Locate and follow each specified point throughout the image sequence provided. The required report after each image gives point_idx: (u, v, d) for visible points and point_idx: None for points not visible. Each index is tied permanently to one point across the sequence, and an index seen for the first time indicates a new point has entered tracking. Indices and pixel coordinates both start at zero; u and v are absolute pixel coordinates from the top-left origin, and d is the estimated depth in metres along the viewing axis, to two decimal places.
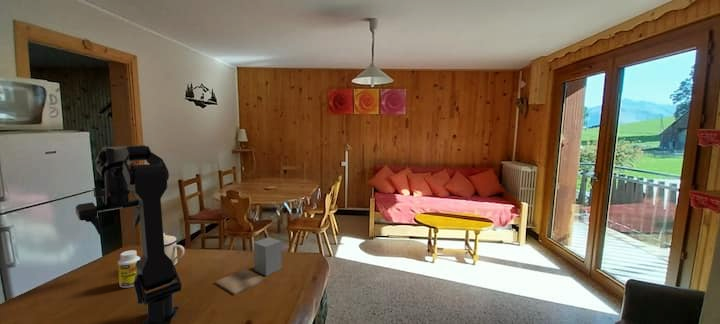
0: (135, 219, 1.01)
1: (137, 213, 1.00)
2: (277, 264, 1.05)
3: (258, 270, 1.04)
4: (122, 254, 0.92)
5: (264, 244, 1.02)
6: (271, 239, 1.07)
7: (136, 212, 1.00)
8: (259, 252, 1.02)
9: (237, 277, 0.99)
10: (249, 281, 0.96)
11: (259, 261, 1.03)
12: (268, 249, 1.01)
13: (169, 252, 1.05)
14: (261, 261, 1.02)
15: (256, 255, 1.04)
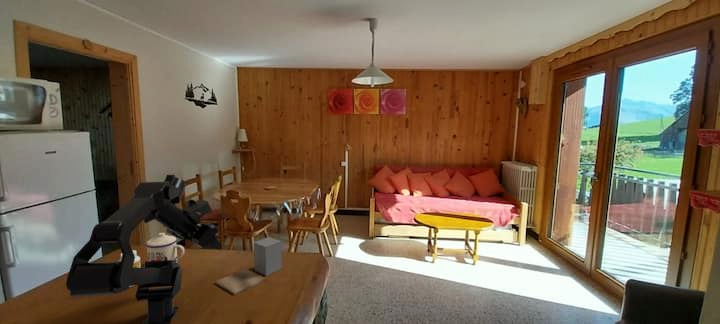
0: None
1: None
2: (277, 264, 1.05)
3: (258, 270, 1.04)
4: (122, 254, 0.92)
5: (264, 244, 1.02)
6: (271, 239, 1.07)
7: None
8: (259, 252, 1.02)
9: (237, 277, 0.99)
10: (249, 281, 0.96)
11: (259, 261, 1.03)
12: (268, 249, 1.01)
13: (169, 252, 1.05)
14: (261, 261, 1.02)
15: (256, 255, 1.04)
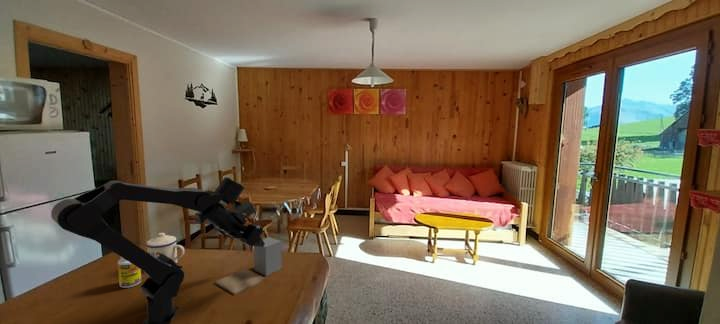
0: None
1: None
2: (277, 264, 1.05)
3: (258, 270, 1.04)
4: None
5: None
6: (271, 239, 1.07)
7: None
8: (259, 252, 1.02)
9: (237, 277, 0.99)
10: (249, 281, 0.96)
11: (259, 261, 1.03)
12: (268, 249, 1.01)
13: (169, 252, 1.05)
14: (261, 261, 1.02)
15: (256, 255, 1.04)
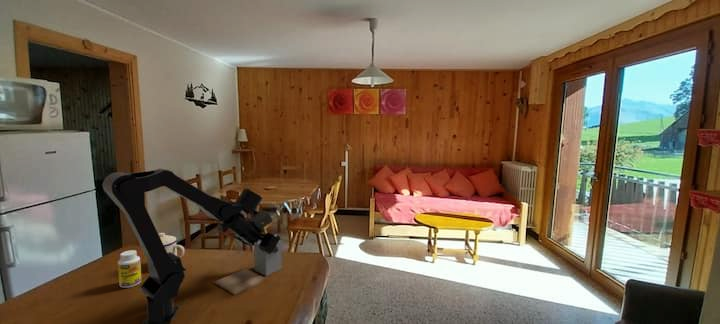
0: None
1: None
2: (277, 264, 1.05)
3: (258, 270, 1.04)
4: (122, 254, 0.92)
5: None
6: None
7: None
8: (259, 252, 1.02)
9: (237, 277, 0.99)
10: (249, 281, 0.96)
11: (259, 261, 1.03)
12: None
13: None
14: (261, 261, 1.02)
15: (256, 255, 1.04)
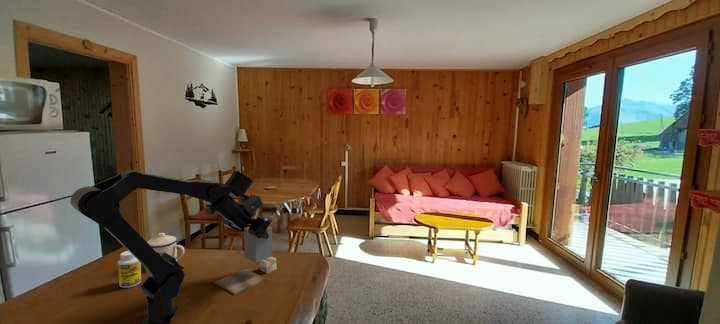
0: None
1: None
2: (268, 251, 1.01)
3: (248, 257, 1.00)
4: (122, 254, 0.92)
5: None
6: None
7: None
8: (249, 238, 0.99)
9: (237, 277, 0.99)
10: (249, 281, 0.96)
11: (249, 247, 0.99)
12: None
13: (169, 252, 1.05)
14: (251, 247, 0.98)
15: (246, 241, 1.00)
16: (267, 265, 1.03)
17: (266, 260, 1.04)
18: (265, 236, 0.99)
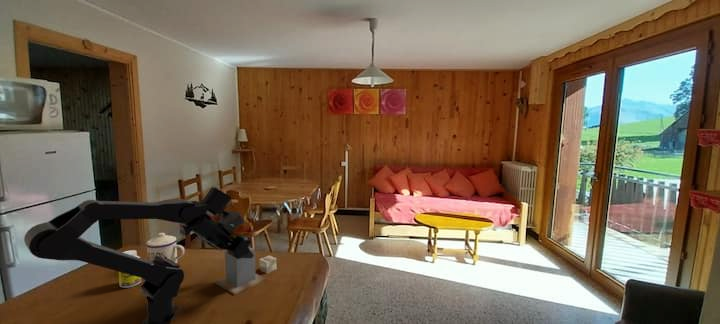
0: None
1: None
2: (250, 274, 0.96)
3: (229, 281, 0.95)
4: None
5: None
6: None
7: None
8: (230, 261, 0.94)
9: None
10: None
11: (230, 271, 0.94)
12: None
13: (169, 252, 1.05)
14: (232, 271, 0.94)
15: (227, 264, 0.95)
16: (267, 265, 1.03)
17: (266, 260, 1.04)
18: (249, 256, 0.93)
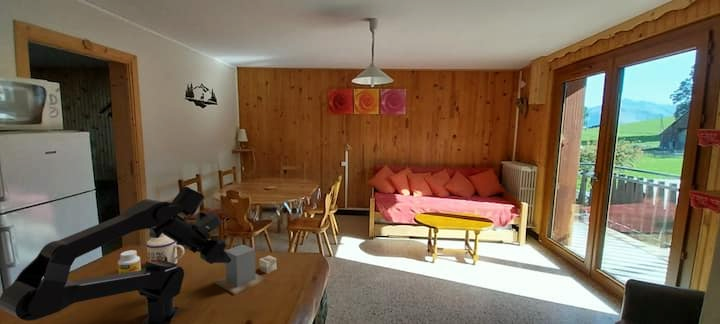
0: None
1: None
2: (250, 274, 0.96)
3: (229, 281, 0.95)
4: (122, 254, 0.92)
5: (235, 252, 0.94)
6: (244, 247, 0.98)
7: None
8: (230, 261, 0.94)
9: None
10: None
11: (230, 271, 0.94)
12: (239, 258, 0.93)
13: (169, 252, 1.05)
14: (232, 271, 0.94)
15: (227, 264, 0.95)
16: (267, 265, 1.03)
17: (266, 260, 1.04)
18: (226, 260, 0.87)
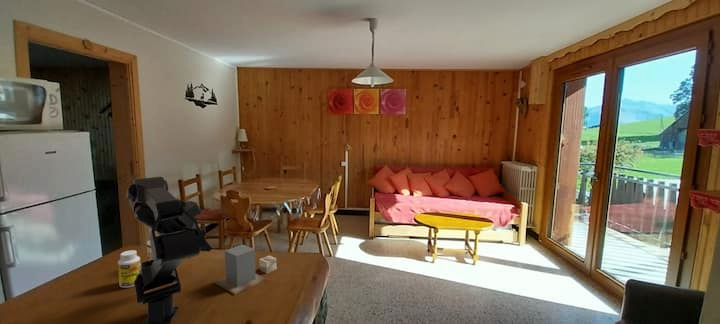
0: None
1: None
2: (250, 274, 0.96)
3: (229, 281, 0.95)
4: (122, 254, 0.92)
5: (235, 252, 0.94)
6: (244, 247, 0.98)
7: None
8: (230, 261, 0.94)
9: None
10: None
11: (230, 271, 0.94)
12: (239, 258, 0.93)
13: None
14: (232, 271, 0.94)
15: (227, 264, 0.95)
16: (267, 265, 1.03)
17: (266, 260, 1.04)
18: (206, 248, 0.87)
